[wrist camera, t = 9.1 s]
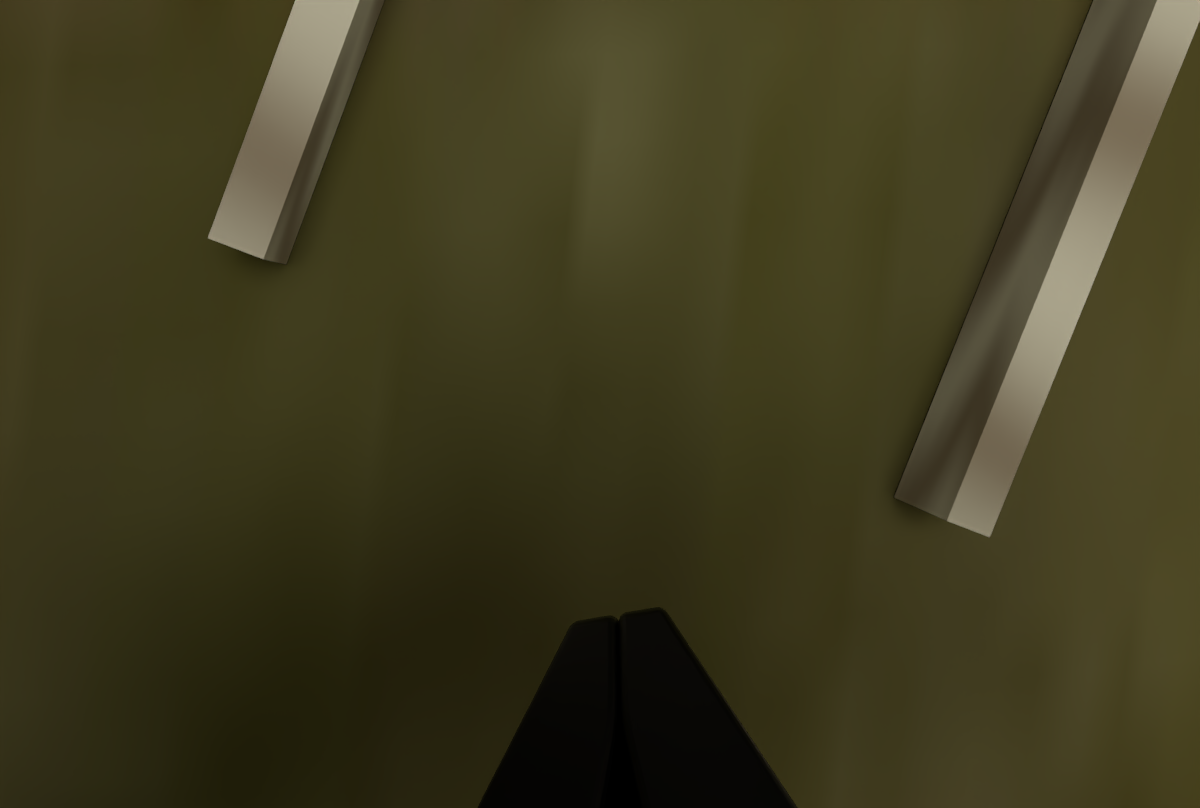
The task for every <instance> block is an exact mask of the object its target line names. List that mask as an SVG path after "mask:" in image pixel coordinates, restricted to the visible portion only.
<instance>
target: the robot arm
mask: <svg viewBox="0 0 1200 808" xmlns="http://www.w3.org/2000/svg"><path fill="white" fill-rule="evenodd" d="M478 808H797V806H796V805H795V803H794V802H793V800H792V799H791V797H790V796H789V794H788V793H787V791H786V790H785V788H784V787H783V785H782V784H781V782H780V781H779V779H778V778H777V776H776V775H775V773H774V772H773V770H772V769H771V767H770V766H769V764H768V763H767V761H766V760H765V758H764V757H763V755H762V754H761V752H760V751H759V749H758V748H757V746H756V745H755V743H754V742H753V740H752V739H751V737H750V736H749V734H748V733H747V731H746V730H745V728H744V727H743V725H742V724H741V722H740V721H739V719H738V718H737V716H736V715H735V713H734V712H733V710H732V709H731V707H730V706H729V704H728V703H727V701H726V700H725V698H724V697H723V695H722V694H721V692H720V691H719V689H718V688H717V686H716V685H715V683H714V682H713V680H712V679H711V677H710V676H709V674H708V673H707V671H706V670H705V668H704V667H703V665H702V664H701V662H700V661H699V659H698V658H697V656H696V655H695V653H694V652H693V650H692V649H691V647H690V646H689V645H688V643H687V642H686V640H685V639H684V637H683V636H682V634H681V633H680V631H679V630H678V628H677V627H676V625H675V624H674V622H673V621H672V619H671V618H670V616H669V615H668V613H667V612H666V611H665V610H664V609H662V608H660V607H656V608H650V609H644V610H638V611H632V612H627V613H624V614H622V615H621V617H620V619H619V621H618V620H617V619H616V618H615V617H614V616H603V617H598V618H592V619H586V620H580V621H576V622H575V623H573V624H572V625H571V626H570V628H569V629H568V631H567V633H566V635H565V637H564V639H563V641H562V643H561V645H560V647H559V649H558V651H557V653H556V655H555V657H554V659H553V661H552V663H551V665H550V666H549V668H548V670H547V672H546V674H545V676H544V678H543V680H542V682H541V684H540V686H539V688H538V690H537V692H536V694H535V696H534V698H533V700H532V702H531V704H530V706H529V708H528V710H527V712H526V714H525V715H524V717H523V719H522V721H521V723H520V725H519V727H518V729H517V731H516V733H515V735H514V737H513V739H512V741H511V743H510V745H509V747H508V749H507V751H506V753H505V755H504V757H503V759H502V761H501V763H500V765H499V766H498V768H497V770H496V772H495V774H494V776H493V778H492V780H491V782H490V784H489V786H488V788H487V790H486V792H485V794H484V796H483V798H482V800H481V802H480V804H479V806H478Z"/></svg>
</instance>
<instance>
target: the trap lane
mask: <svg viewBox="0 0 1200 808" xmlns="http://www.w3.org/2000/svg"><path fill="white" fill-rule="evenodd" d="M383 3H384V0H295V3H294V5H293V8H292V11H291V14H290V16H289V19H288V22H287V24H286V27H285V30H284V33H283V35H282V38H281V41H280V43H279V46H278V49H277V52H276V54H275V57H274V60H273V62H272V65H271V68H270V71H269V73H268V76H267V79H266V81H265V84H264V87H263V90H262V92H261V95H260V98H259V100H258V103H257V106H256V109H255V111H254V114H253V117H252V119H251V122H250V125H249V128H248V130H247V133H246V136H245V138H244V141H243V144H242V147H241V149H240V152H239V155H238V157H237V160H236V163H235V166H234V168H233V171H232V174H231V176H230V179H229V182H228V185H227V187H226V190H225V193H224V195H223V198H222V201H221V204H220V206H219V209H218V212H217V214H216V217H215V220H214V223H213V225H212V228H211V231H210V233H209V236H208V238H209V239H211V240H214V241H217V242H219V243H222V244H224V245H227V246H230V247H232V248H235V249H238V250H240V251H243V252H245V253H248V254H251V255H253V256H256V257H258V258H261V259H264V260H268V261H272V262H277V263H281V264H285V265H286V264H287V261H288V258H289V256H290V253H291V250H292V248H293V245H294V242H295V240H296V237H297V234H298V232H299V229H300V226H301V223H302V221H303V218H304V215H305V213H306V210H307V207H308V205H309V202H310V199H311V197H312V194H313V191H314V189H315V186H316V183H317V180H318V178H319V175H320V172H321V170H322V167H323V164H324V162H325V159H326V156H327V154H328V151H329V148H330V146H331V143H332V140H333V137H334V135H335V132H336V129H337V127H338V124H339V121H340V119H341V116H342V113H343V111H344V108H345V105H346V103H347V100H348V97H349V95H350V92H351V89H352V86H353V84H354V81H355V78H356V76H357V73H358V70H359V68H360V65H361V62H362V60H363V57H364V54H365V52H366V49H367V46H368V43H369V41H370V38H371V35H372V33H373V30H374V27H375V25H376V22H377V19H378V17H379V14H380V11H381V9H382V6H383ZM1199 21H1200V0H1093V3H1092V5H1091V8H1090V10H1089V13H1088V15H1087V17H1086V20H1085V22H1084V25H1083V27H1082V30H1081V32H1080V35H1079V37H1078V40H1077V42H1076V45H1075V47H1074V50H1073V52H1072V55H1071V57H1070V60H1069V62H1068V65H1067V67H1066V70H1065V72H1064V75H1063V77H1062V80H1061V82H1060V85H1059V87H1058V90H1057V92H1056V95H1055V97H1054V100H1053V102H1052V105H1051V107H1050V110H1049V112H1048V115H1047V117H1046V120H1045V122H1044V125H1043V127H1042V130H1041V132H1040V135H1039V137H1038V140H1037V142H1036V145H1035V147H1034V150H1033V152H1032V155H1031V157H1030V159H1029V162H1028V164H1027V167H1026V169H1025V172H1024V174H1023V177H1022V179H1021V182H1020V184H1019V187H1018V189H1017V192H1016V194H1015V197H1014V199H1013V202H1012V204H1011V207H1010V209H1009V212H1008V214H1007V217H1006V219H1005V222H1004V224H1003V227H1002V229H1001V232H1000V234H999V237H998V239H997V242H996V244H995V247H994V249H993V252H992V254H991V257H990V259H989V262H988V264H987V267H986V269H985V272H984V274H983V277H982V279H981V282H980V284H979V287H978V289H977V292H976V294H975V297H974V299H973V301H972V304H971V306H970V309H969V311H968V314H967V316H966V319H965V321H964V324H963V326H962V329H961V331H960V334H959V336H958V339H957V341H956V344H955V346H954V349H953V351H952V354H951V356H950V359H949V361H948V364H947V366H946V369H945V371H944V374H943V376H942V379H941V381H940V384H939V386H938V389H937V391H936V394H935V396H934V399H933V401H932V404H931V406H930V409H929V411H928V414H927V416H926V419H925V421H924V424H923V426H922V429H921V431H920V434H919V436H918V439H917V441H916V443H915V446H914V448H913V451H912V453H911V456H910V458H909V461H908V463H907V466H906V468H905V471H904V473H903V476H902V478H901V481H900V483H899V486H898V488H897V491H896V493H895V496H894V498H896V499H898V500H901V501H903V502H905V503H907V504H910V505H912V506H914V507H917V508H919V509H921V510H923V511H926V512H928V513H930V514H932V515H935V516H937V517H939V518H941V519H944V520H946V521H949V522H951V523H954V524H956V525H959V526H962V527H964V528H967V529H969V530H972V531H975V532H977V533H980V534H982V535H985V536H988V537H990V535H991V533H992V530H993V528H994V526H995V523H996V521H997V518H998V516H999V513H1000V511H1001V508H1002V506H1003V503H1004V501H1005V498H1006V496H1007V493H1008V491H1009V489H1010V486H1011V484H1012V481H1013V479H1014V476H1015V474H1016V471H1017V469H1018V466H1019V464H1020V461H1021V459H1022V457H1023V454H1024V452H1025V449H1026V447H1027V444H1028V442H1029V439H1030V437H1031V434H1032V432H1033V429H1034V427H1035V425H1036V422H1037V420H1038V417H1039V415H1040V412H1041V410H1042V407H1043V405H1044V402H1045V400H1046V397H1047V395H1048V393H1049V390H1050V388H1051V385H1052V383H1053V380H1054V378H1055V375H1056V373H1057V370H1058V368H1059V365H1060V363H1061V361H1062V358H1063V356H1064V353H1065V351H1066V348H1067V346H1068V343H1069V341H1070V338H1071V336H1072V333H1073V331H1074V329H1075V326H1076V324H1077V321H1078V319H1079V316H1080V314H1081V311H1082V309H1083V306H1084V304H1085V301H1086V299H1087V297H1088V294H1089V292H1090V289H1091V287H1092V284H1093V282H1094V279H1095V277H1096V274H1097V272H1098V269H1099V267H1100V264H1101V262H1102V260H1103V257H1104V255H1105V252H1106V250H1107V247H1108V245H1109V242H1110V240H1111V237H1112V235H1113V232H1114V230H1115V228H1116V225H1117V223H1118V220H1119V218H1120V215H1121V213H1122V210H1123V208H1124V205H1125V203H1126V200H1127V198H1128V196H1129V193H1130V191H1131V188H1132V186H1133V183H1134V181H1135V178H1136V176H1137V173H1138V171H1139V168H1140V166H1141V164H1142V161H1143V159H1144V156H1145V154H1146V151H1147V149H1148V146H1149V144H1150V141H1151V139H1152V136H1153V134H1154V132H1155V129H1156V127H1157V124H1158V122H1159V119H1160V117H1161V114H1162V112H1163V109H1164V107H1165V104H1166V102H1167V100H1168V97H1169V95H1170V92H1171V90H1172V87H1173V85H1174V82H1175V80H1176V77H1177V75H1178V72H1179V70H1180V68H1181V65H1182V63H1183V60H1184V58H1185V55H1186V53H1187V50H1188V48H1189V45H1190V43H1191V40H1192V38H1193V35H1194V33H1195V31H1196V28H1197V26H1198V23H1199Z"/></svg>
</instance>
